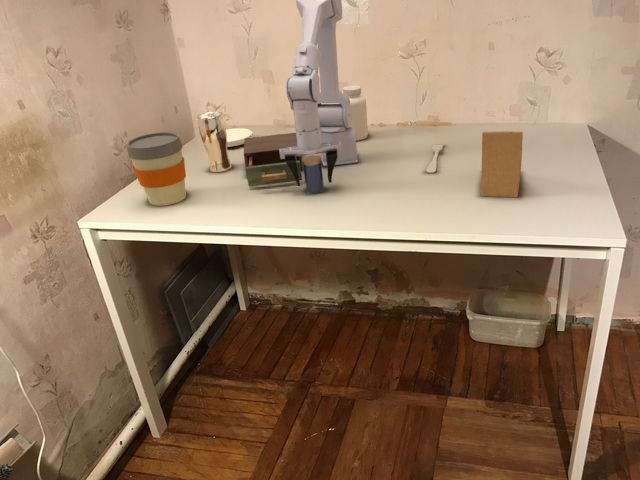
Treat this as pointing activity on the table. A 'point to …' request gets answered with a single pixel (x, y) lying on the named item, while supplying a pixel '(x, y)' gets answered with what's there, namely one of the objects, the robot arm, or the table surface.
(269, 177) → the drawer
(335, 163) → the robot arm
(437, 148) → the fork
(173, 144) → the reusable coffee cup
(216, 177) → the table surface
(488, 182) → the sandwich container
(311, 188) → the jar
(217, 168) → the beer glass
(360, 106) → the pill bottle
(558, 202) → the table surface
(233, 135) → the plastic lid
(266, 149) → the cabinet
